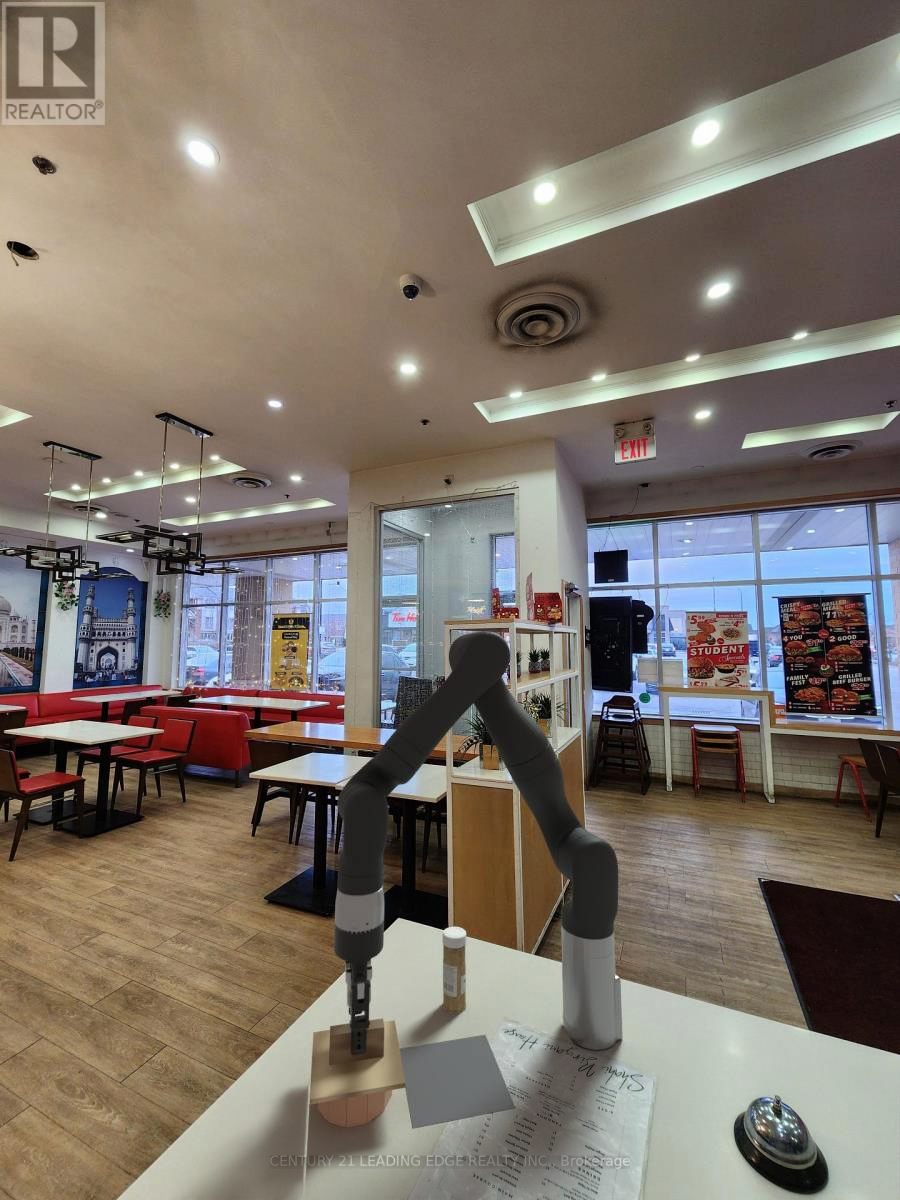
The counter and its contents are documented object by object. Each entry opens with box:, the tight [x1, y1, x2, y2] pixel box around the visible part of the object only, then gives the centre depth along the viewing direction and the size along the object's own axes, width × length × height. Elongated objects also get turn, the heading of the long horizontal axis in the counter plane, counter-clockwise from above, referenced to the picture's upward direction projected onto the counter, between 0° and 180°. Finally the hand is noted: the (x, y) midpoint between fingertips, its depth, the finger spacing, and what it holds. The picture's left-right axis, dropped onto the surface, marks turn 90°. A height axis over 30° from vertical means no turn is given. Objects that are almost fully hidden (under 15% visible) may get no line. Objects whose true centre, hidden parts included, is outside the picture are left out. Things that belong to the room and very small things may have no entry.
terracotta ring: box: [317, 1090, 393, 1128], centre depth 76 cm, size 11×11×5 cm
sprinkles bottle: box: [442, 926, 467, 1015], centre depth 96 cm, size 5×5×13 cm
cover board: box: [309, 1018, 406, 1105], centre depth 77 cm, size 13×13×5 cm
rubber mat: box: [399, 1034, 516, 1129], centre depth 79 cm, size 15×15×1 cm
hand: (356, 1031), depth 77 cm, fingers open, 8 cm apart
